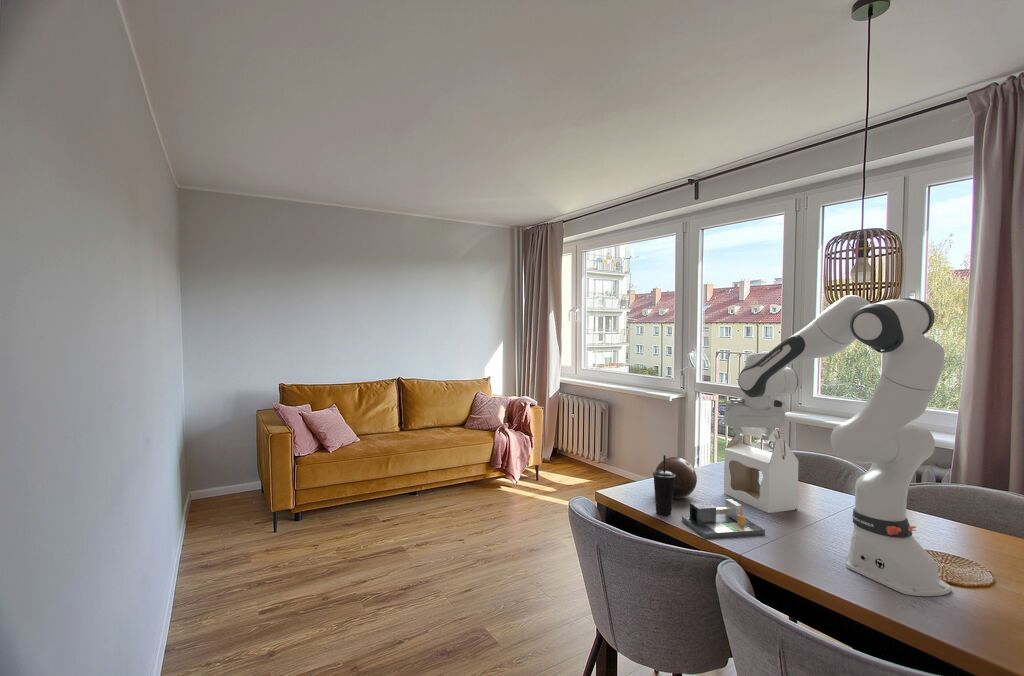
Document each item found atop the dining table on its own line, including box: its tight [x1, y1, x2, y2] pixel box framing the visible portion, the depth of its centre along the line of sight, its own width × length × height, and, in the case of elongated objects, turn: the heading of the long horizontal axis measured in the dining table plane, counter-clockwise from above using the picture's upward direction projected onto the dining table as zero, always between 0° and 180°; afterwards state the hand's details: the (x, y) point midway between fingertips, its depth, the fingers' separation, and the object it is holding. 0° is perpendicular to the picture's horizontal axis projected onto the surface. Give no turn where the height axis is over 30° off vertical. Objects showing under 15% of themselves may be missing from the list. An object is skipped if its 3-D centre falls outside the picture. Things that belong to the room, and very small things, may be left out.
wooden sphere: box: [655, 456, 698, 500], centre depth 188 cm, size 15×15×15 cm
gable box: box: [723, 427, 799, 514], centre depth 185 cm, size 22×13×28 cm, turn 18°
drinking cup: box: [652, 454, 676, 517], centre depth 171 cm, size 8×8×20 cm
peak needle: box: [737, 504, 746, 525], centre depth 158 cm, size 2×1×6 cm, turn 9°
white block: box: [716, 498, 747, 523], centre depth 162 cm, size 9×10×5 cm
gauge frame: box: [681, 501, 766, 540], centre depth 160 cm, size 14×20×6 cm
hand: (752, 439), depth 171 cm, fingers open, 8 cm apart
